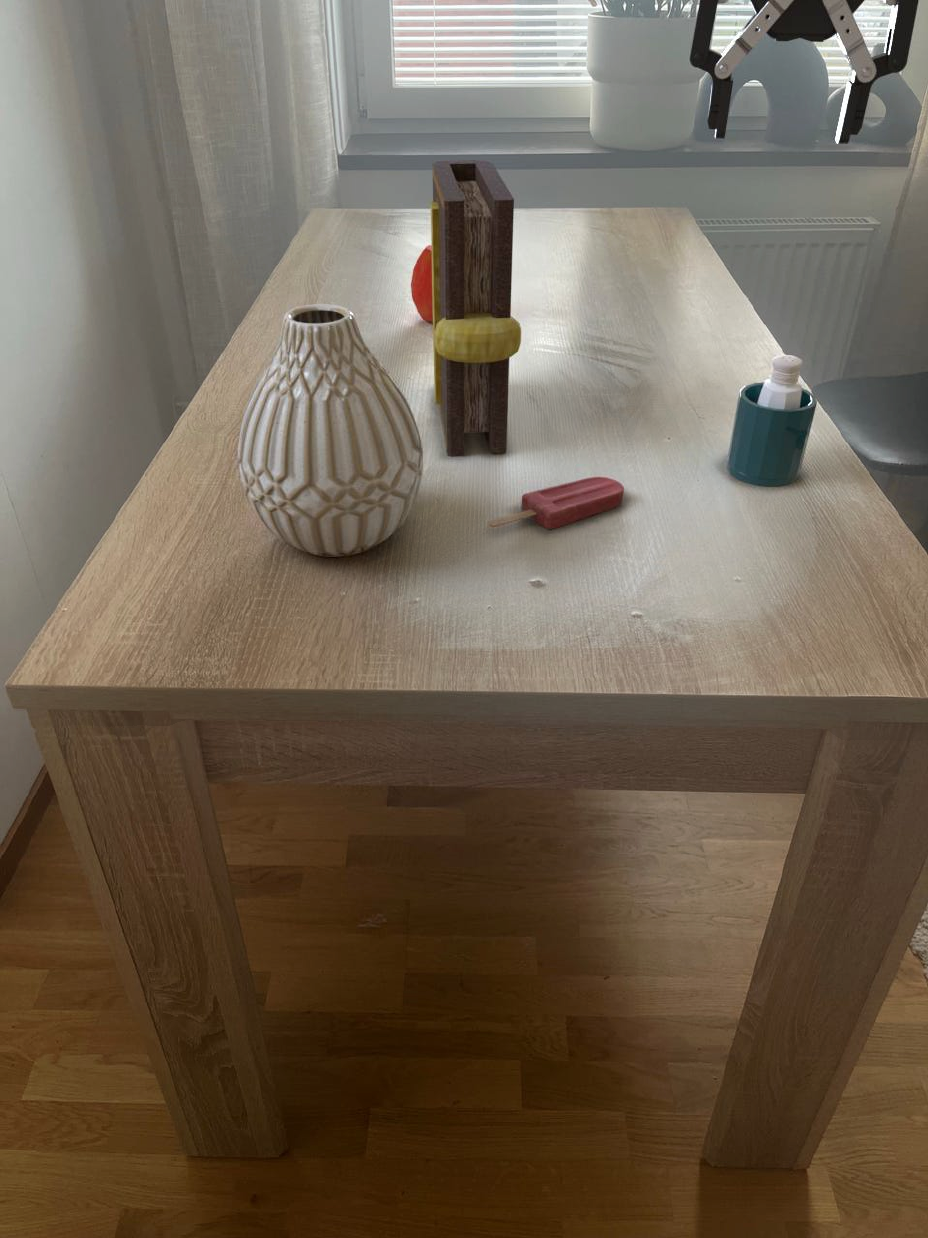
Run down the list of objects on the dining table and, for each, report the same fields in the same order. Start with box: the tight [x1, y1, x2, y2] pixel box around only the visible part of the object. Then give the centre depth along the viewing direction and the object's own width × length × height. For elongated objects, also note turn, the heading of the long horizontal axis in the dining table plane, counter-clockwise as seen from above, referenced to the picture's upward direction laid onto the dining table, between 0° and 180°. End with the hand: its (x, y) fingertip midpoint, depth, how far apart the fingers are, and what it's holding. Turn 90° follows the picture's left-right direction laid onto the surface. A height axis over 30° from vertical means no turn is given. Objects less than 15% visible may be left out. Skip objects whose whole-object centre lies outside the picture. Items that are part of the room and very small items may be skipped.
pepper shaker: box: [757, 354, 804, 409], centre depth 91 cm, size 5×5×11 cm
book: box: [430, 159, 522, 457], centre depth 97 cm, size 22×8×25 cm, turn 5°
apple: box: [410, 244, 433, 324], centre depth 130 cm, size 8×8×11 cm
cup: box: [726, 381, 818, 487], centre depth 92 cm, size 7×7×8 cm
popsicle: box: [487, 476, 625, 530], centre depth 87 cm, size 4×2×15 cm
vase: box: [236, 303, 424, 558], centre depth 78 cm, size 16×16×20 cm
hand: (780, 139), depth 67 cm, fingers open, 8 cm apart
